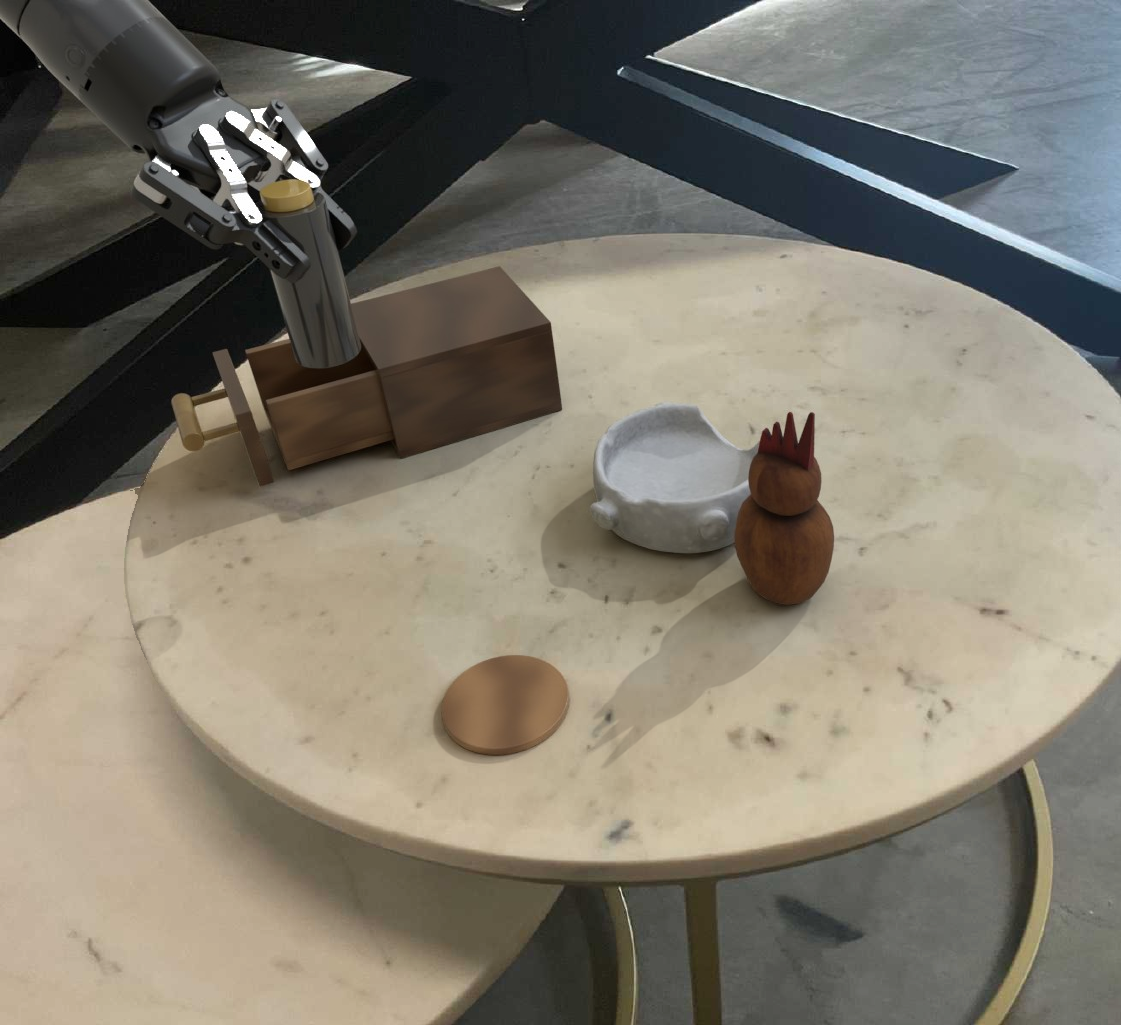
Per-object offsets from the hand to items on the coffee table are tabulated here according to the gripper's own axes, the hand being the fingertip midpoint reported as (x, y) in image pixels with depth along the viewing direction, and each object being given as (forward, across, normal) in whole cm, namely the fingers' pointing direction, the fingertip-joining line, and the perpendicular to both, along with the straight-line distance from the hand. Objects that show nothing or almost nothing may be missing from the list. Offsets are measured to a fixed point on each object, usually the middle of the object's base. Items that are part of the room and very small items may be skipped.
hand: (325, 256), depth 75 cm
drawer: (+6, -6, -24) cm, 25 cm away
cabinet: (+13, -17, -18) cm, 27 cm away
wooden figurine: (+38, -1, +7) cm, 38 cm away
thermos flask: (+4, 0, -7) cm, 8 cm away
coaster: (+28, +15, -3) cm, 32 cm away
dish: (+30, -8, 0) cm, 31 cm away
